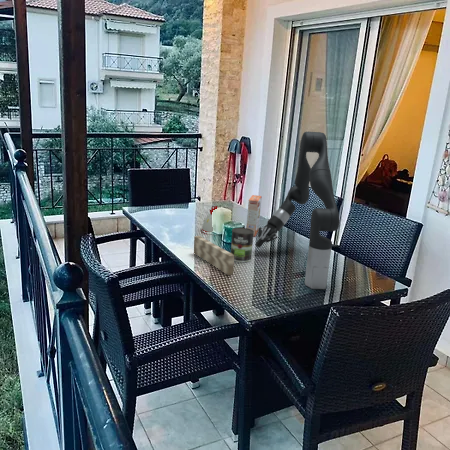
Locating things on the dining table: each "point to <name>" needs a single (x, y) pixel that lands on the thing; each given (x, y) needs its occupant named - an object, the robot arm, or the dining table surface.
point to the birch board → (214, 255)
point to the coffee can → (242, 244)
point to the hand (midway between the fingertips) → (257, 246)
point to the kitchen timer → (208, 221)
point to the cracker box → (254, 213)
